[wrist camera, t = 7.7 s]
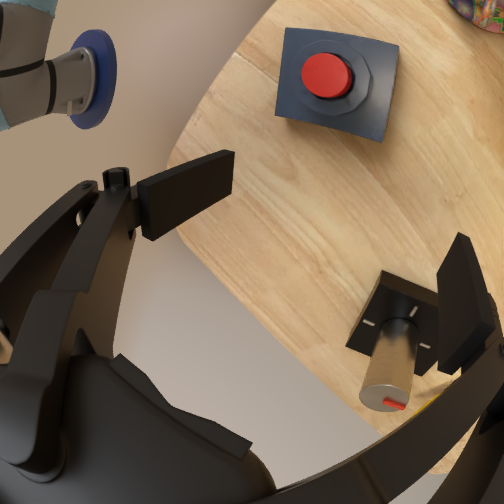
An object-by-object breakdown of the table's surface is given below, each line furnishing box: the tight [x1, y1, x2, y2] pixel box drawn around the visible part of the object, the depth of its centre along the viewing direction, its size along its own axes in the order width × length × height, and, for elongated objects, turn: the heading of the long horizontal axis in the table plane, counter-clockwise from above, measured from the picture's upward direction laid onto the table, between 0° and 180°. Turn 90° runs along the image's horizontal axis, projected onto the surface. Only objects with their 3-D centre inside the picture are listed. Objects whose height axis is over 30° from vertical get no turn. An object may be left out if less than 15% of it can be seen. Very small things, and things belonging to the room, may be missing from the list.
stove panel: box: [345, 270, 439, 376], centre depth 27 cm, size 12×11×3 cm
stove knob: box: [359, 319, 418, 412], centre depth 23 cm, size 5×5×9 cm
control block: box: [275, 28, 399, 143], centre depth 19 cm, size 10×9×4 cm
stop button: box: [302, 53, 352, 98], centre depth 17 cm, size 4×4×2 cm
